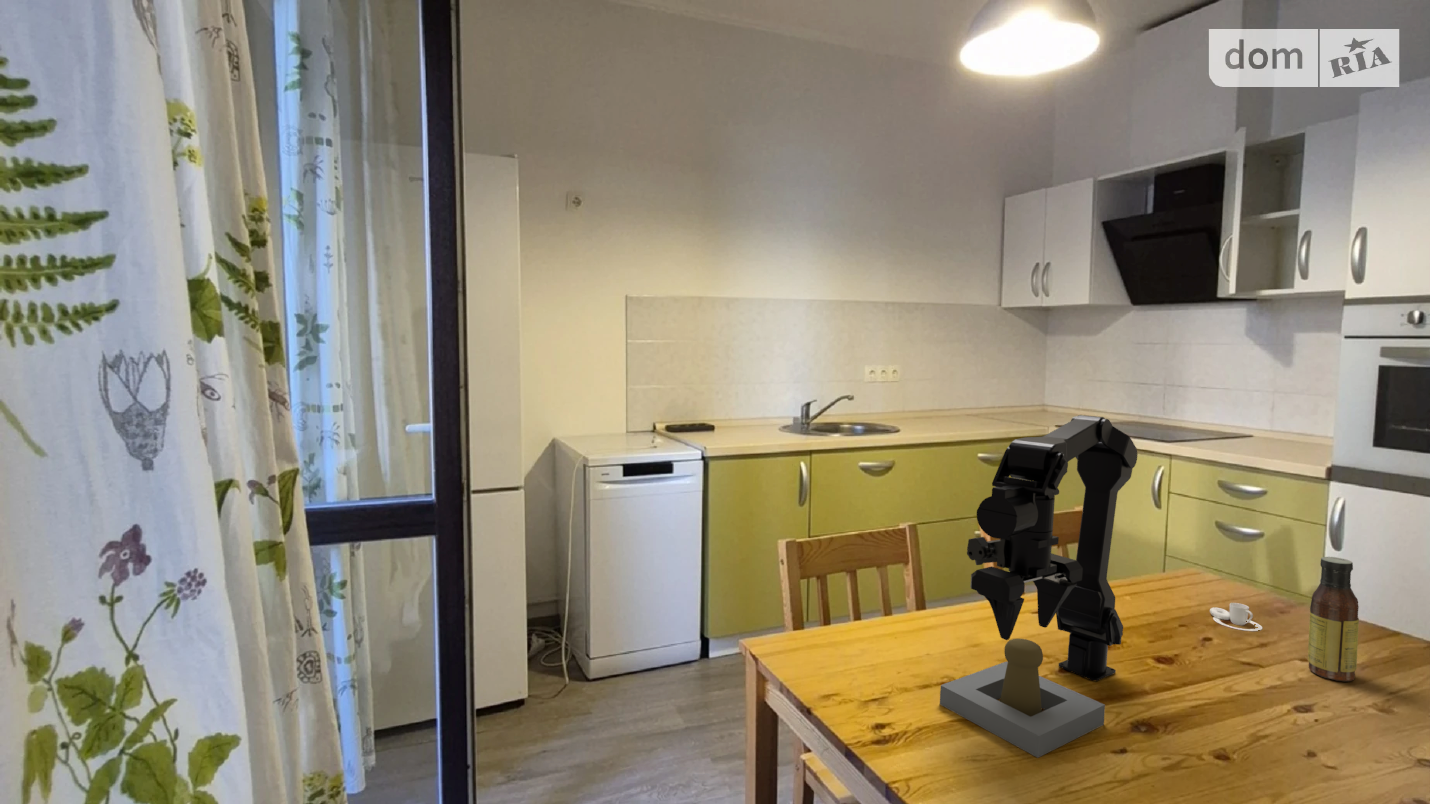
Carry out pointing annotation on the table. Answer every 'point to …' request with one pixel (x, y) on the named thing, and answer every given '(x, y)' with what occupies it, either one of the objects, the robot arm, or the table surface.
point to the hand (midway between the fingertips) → (1024, 632)
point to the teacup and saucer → (1235, 616)
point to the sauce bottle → (1334, 623)
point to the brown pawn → (1022, 676)
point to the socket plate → (1033, 734)
